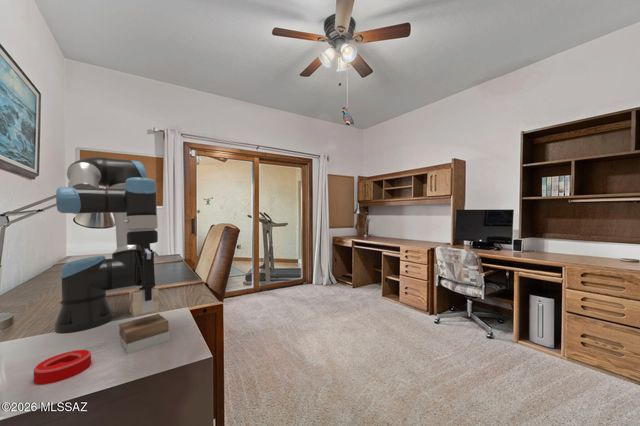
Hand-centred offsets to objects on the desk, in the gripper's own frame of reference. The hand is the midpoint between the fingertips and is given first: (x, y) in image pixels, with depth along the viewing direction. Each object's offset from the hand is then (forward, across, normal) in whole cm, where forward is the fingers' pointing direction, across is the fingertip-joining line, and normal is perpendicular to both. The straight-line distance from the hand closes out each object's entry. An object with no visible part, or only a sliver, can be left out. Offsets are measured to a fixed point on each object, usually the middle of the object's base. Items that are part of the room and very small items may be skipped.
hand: (144, 309), depth 76 cm
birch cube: (0, 0, 0) cm, 0 cm away
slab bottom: (+10, 0, 0) cm, 10 cm away
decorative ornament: (+10, +3, -17) cm, 20 cm away
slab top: (+7, 0, 0) cm, 7 cm away
